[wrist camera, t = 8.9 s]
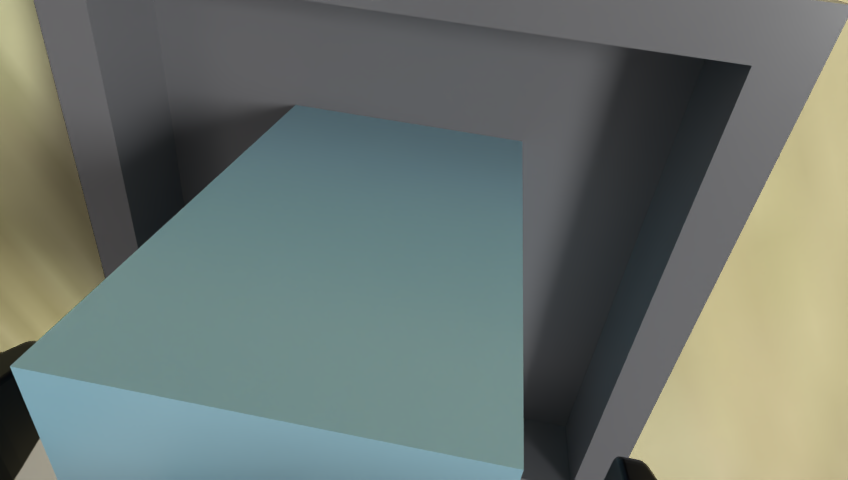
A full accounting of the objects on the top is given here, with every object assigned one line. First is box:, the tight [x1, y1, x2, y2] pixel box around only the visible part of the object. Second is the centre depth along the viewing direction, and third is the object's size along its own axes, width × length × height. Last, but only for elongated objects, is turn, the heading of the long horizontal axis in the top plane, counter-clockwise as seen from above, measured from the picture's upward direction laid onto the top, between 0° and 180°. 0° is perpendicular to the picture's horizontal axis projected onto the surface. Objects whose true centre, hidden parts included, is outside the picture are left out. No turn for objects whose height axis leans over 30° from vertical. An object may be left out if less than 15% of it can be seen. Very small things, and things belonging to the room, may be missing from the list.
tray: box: [34, 0, 848, 480], centre depth 13 cm, size 13×13×3 cm
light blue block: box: [10, 105, 524, 480], centre depth 10 cm, size 5×6×9 cm
